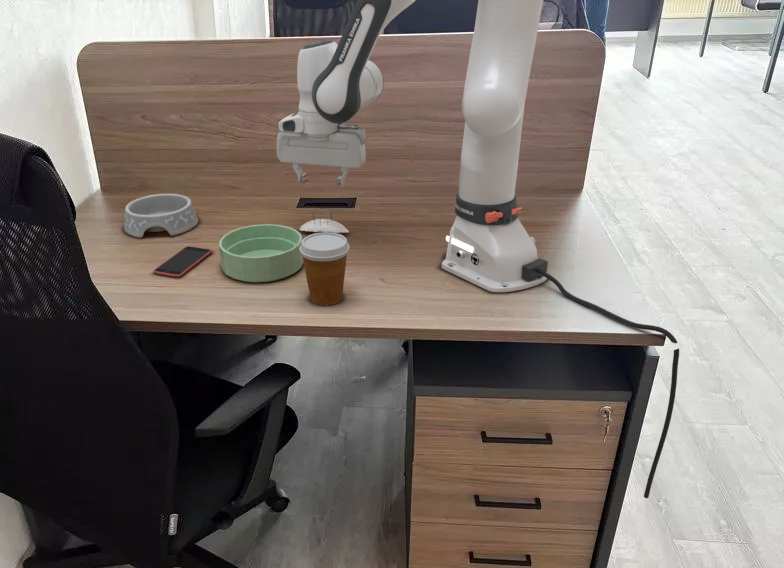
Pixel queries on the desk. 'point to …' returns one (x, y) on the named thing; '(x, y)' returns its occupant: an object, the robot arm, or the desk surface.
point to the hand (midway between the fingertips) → (321, 183)
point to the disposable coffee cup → (325, 266)
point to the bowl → (261, 253)
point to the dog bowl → (160, 215)
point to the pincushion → (323, 226)
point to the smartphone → (182, 261)
